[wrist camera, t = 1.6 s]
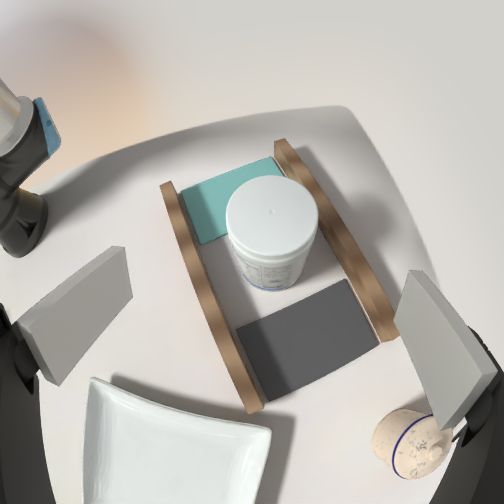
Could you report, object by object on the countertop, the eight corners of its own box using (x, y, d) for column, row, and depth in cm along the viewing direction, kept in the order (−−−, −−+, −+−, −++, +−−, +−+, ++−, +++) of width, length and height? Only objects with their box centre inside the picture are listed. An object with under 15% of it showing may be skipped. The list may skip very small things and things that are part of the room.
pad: (181, 192, 46) (180, 191, 46) (270, 157, 48) (270, 156, 48) (201, 245, 42) (200, 243, 42) (300, 204, 44) (300, 202, 44)
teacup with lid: (372, 470, 27) (405, 499, 16) (364, 421, 31) (399, 440, 20) (438, 437, 28) (481, 450, 17) (432, 390, 31) (478, 392, 20)
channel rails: (166, 198, 46) (159, 185, 42) (283, 153, 48) (284, 138, 45) (250, 409, 33) (248, 414, 29) (392, 335, 35) (404, 332, 31)
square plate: (273, 421, 32) (274, 427, 28) (241, 552, 22) (239, 564, 18) (100, 374, 35) (86, 374, 32) (92, 502, 25) (80, 508, 22)
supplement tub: (271, 221, 43) (272, 158, 29) (317, 261, 40) (340, 210, 27) (225, 262, 41) (204, 211, 27) (271, 308, 38) (273, 276, 24)
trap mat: (236, 329, 37) (236, 329, 37) (343, 279, 39) (344, 278, 38) (269, 401, 33) (269, 401, 33) (377, 345, 35) (378, 345, 34)
